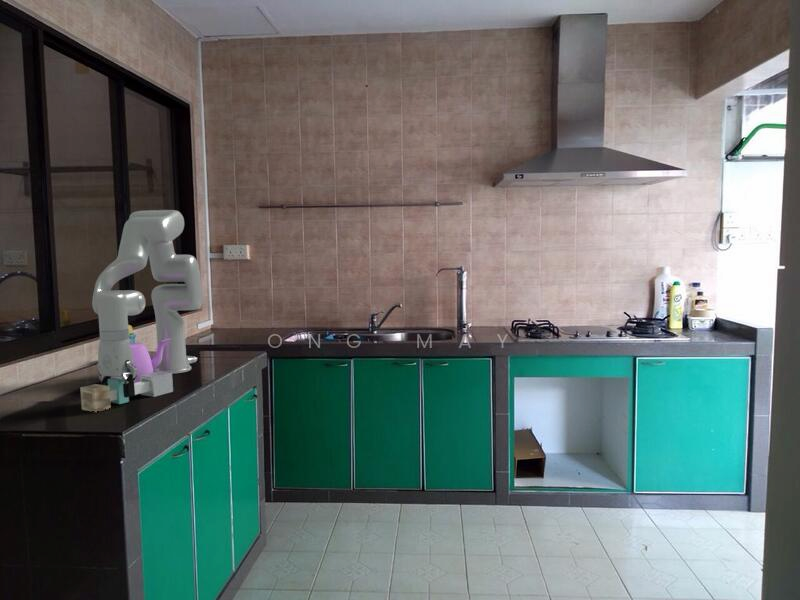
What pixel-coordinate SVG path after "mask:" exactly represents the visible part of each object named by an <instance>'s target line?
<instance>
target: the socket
mask: <svg viewBox="0 0 800 600" xmlns="http://www.w3.org/2000/svg"><path fill="white" fill-rule="evenodd" d="M79 389H80V401H81V402H80V403H81V404H80V405H81V410H82V411H88V412H92V411H94V412H93V413H98V412H97V411H99V412H103V411H106V410H110V409H112V408H111V407H112V405H111V402H110V388H109V386H105V385H102V384H96V383H95V384H94V383H93V384H90V385H86V386H81V387H80V388H79ZM109 408H110V409H109ZM105 409H106V410H105Z"/></svg>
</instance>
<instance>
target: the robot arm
mask: <svg viewBox="0 0 800 600" xmlns="http://www.w3.org/2000/svg"><path fill="white" fill-rule="evenodd" d="M184 228H185V219H184V216H183V215H182V213H181V212H180V211H179V210H177V209H176V210H175V209H159V210H157V209H156V210H155V209H153V210H138V211H134V212H132V213H130V214H129V217H128V220H126V221H125V223H124V226H123V229H122V233H121V239H120V244H119V247H118V248H119V249H118V253H117V254H118V255H117V258H116V259H115V260H114V261H113V262H111V263H110V264H109V265H107V267H106V268H105V269H103V271H102V272H101V273H100V274H99V275H98V277H97V280H96V281H95V285H94V289H93V294H92V301H91V303H92V309H93V311H94V313H95V314H96V315H98V324H99V325H98V328H99V343H98V351H97V363H96V369H97V371H98V376H99V375H100V376H101V377H100V379H101V380H102V382H101V385H105V386H108V379H110V378H111V377H120V376H121V377H122V379H123V381H124V384H123V392H124V397H125V398H126V397H129V398H130V397H134V396H136V395H135V388H134V382H135V379H136V377H137V371H138V368H137V367H136V366H134V365H133V359H132V352H131V346H130V342H129V330H128V325H129V320H128V319H129V317H128V316H137V315H139V314H141V313H142V312H143V311H144V310H145V307H146V298H145V296H144V294H143V293H142V292H141V291H138V290H133V289H131V290H130V289H127V290H122V289H121V290H117V289H116V290H112V288H113V286H115V284H116V283H117V282H119V281H120V280H122V279H124V278H127V277H129V276H131V275H133V274H135V273H137V272H140V271H142V270H144V268H146V266H147V264H148V259H149V264H150V270H151V274H152V276H153V279H154V280H155V281H157V282H160V283H165V284H159V285H157V286H155V287H154V288H153V289H152V291H151V296H150V297H151V302H152V306H153V309H154V315H155V317H154V318H155V325H156V326H155V329H156V343H157V347H158V344H159V342H160V341H162V340H166V339H170V340H169V341H168V342H167V343H166V344H165V345H164V348H163V355H162V360H161V363H160V365H159V366H158V367H157V368H155V369H154V372H157V371H163V372H172V375H175V374H181V373H187V372H189V371H191V370H192V366H191V365H190V364H191V363H196V362H197V361H198V357H196V356H192V357H189V356H187V348H186V333H185V332H186V329H185V322H184V319H183V317H182V316H181V315H180V313H179V311H196V310H199V309H201V308H202V306H203V303H204V294H203V286H202V284H203V283H202V279H201V272H200V266H199V263H198V260H197V259H196V257H195V256H194V255H191V254H177V253H176V252H175V247H174V243H173V241H174V240H175V239H177V238H178V237H179V236H181V234H182V233H183V231H184ZM173 282H174V283H173ZM177 282H178V283H177ZM179 282H181V283H180V284H179ZM182 282H183V283H182ZM126 376H128V378H127V377H126ZM100 379H99V380H100Z"/></svg>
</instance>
